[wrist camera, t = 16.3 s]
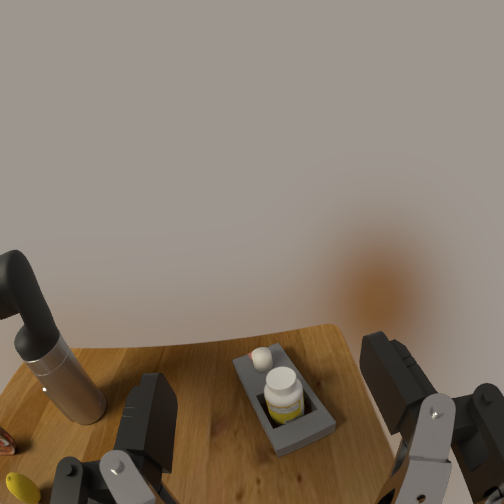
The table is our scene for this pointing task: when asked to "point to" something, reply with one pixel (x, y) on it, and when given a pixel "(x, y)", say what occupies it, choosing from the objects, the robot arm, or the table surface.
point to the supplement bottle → (284, 395)
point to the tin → (6, 443)
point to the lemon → (23, 488)
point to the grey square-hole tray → (254, 381)
